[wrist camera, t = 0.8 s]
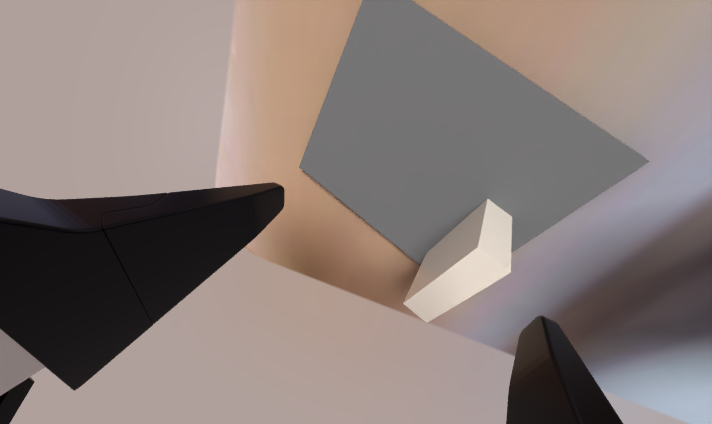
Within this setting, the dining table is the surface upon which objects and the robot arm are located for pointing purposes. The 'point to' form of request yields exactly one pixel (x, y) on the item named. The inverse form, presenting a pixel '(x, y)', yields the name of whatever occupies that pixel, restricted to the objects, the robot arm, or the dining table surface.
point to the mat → (450, 135)
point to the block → (463, 262)
